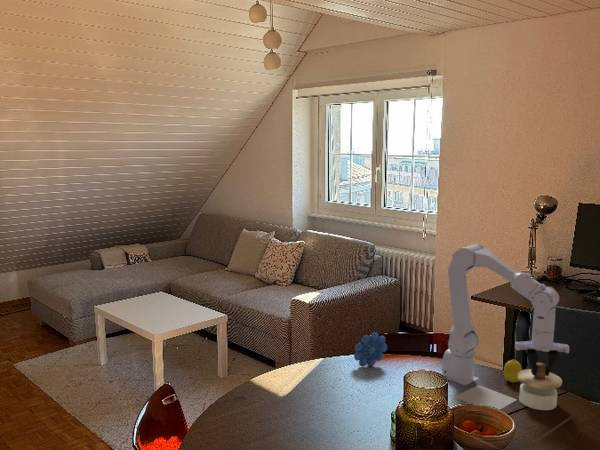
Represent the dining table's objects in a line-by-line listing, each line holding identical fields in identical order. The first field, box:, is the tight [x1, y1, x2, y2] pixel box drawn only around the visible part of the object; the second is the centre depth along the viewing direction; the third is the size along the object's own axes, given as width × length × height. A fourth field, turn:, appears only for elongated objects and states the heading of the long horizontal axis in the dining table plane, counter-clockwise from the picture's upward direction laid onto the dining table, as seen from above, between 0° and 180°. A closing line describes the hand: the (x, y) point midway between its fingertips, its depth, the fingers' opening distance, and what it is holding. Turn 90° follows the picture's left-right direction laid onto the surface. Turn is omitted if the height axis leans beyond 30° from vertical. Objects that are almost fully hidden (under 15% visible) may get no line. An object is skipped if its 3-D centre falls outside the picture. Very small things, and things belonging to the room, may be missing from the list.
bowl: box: [518, 383, 558, 411], centre depth 167 cm, size 10×10×4 cm
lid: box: [518, 362, 563, 390], centre depth 166 cm, size 12×12×5 cm
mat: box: [454, 384, 518, 411], centre depth 170 cm, size 13×13×1 cm
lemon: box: [503, 359, 523, 384], centre depth 181 cm, size 6×6×8 cm
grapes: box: [353, 331, 388, 367], centre depth 194 cm, size 12×7×12 cm, turn 101°
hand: (539, 374), depth 166 cm, fingers closed on lid, 3 cm apart
